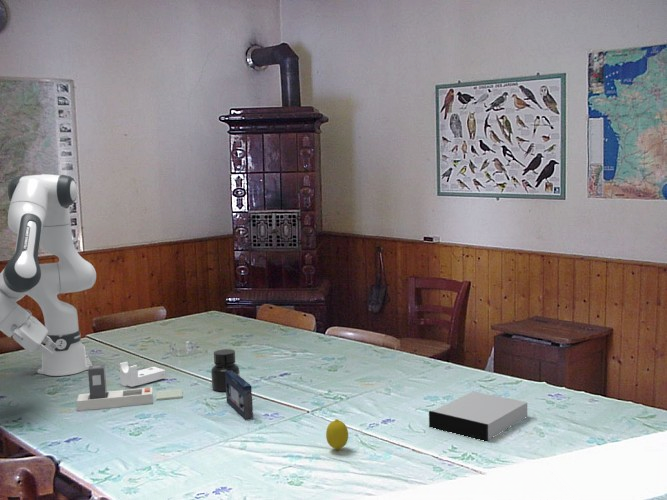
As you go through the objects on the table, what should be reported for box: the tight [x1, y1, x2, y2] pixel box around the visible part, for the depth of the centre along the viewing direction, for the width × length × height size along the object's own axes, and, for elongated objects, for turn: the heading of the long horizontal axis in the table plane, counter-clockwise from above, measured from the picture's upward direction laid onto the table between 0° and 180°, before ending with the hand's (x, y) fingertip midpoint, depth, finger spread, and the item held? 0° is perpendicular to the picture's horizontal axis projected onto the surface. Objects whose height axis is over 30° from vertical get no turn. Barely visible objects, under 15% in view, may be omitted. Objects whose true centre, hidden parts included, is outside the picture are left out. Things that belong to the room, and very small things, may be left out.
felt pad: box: [155, 388, 183, 401], centre depth 241 cm, size 8×8×1 cm
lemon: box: [325, 419, 349, 451], centre depth 192 cm, size 6×6×8 cm
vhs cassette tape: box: [225, 370, 254, 421], centre depth 224 cm, size 18×3×10 cm, turn 23°
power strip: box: [76, 386, 154, 412], centre depth 234 cm, size 22×7×4 cm, turn 102°
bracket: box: [119, 361, 167, 388], centre depth 255 cm, size 13×7×8 cm, turn 135°
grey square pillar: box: [87, 363, 108, 399], centre depth 232 cm, size 4×4×10 cm
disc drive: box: [428, 391, 528, 442], centre depth 208 cm, size 18×22×5 cm
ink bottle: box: [210, 348, 241, 393], centre depth 246 cm, size 10×9×12 cm
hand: (53, 351), depth 228 cm, fingers open, 8 cm apart
